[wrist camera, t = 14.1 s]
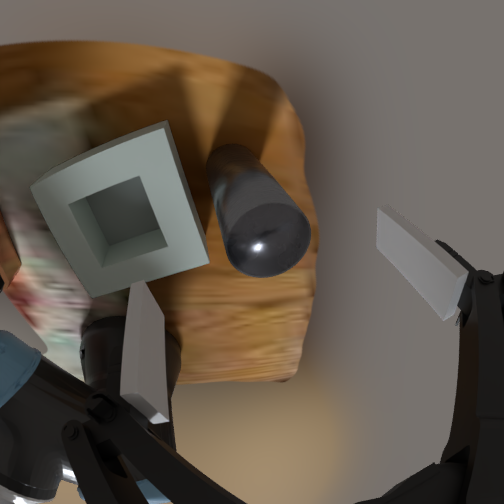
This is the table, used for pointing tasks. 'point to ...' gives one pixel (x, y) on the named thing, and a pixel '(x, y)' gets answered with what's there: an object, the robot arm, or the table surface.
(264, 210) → the dark gray tapered cylinder
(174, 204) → the block
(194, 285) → the table surface
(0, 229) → the whiskey bottle
